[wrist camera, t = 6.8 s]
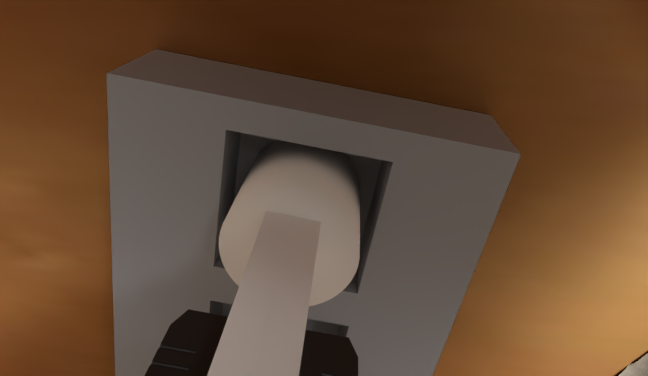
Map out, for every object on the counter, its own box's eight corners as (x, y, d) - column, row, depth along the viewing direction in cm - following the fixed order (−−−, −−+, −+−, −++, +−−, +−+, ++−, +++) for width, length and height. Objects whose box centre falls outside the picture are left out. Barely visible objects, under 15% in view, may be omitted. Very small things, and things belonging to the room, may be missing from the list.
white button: (255, 125, 16) (224, 175, 13) (371, 148, 16) (374, 204, 13) (242, 225, 18) (213, 294, 14) (347, 245, 18) (344, 318, 14)
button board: (155, 48, 17) (106, 73, 13) (490, 115, 17) (520, 154, 14) (148, 423, 26) (118, 490, 23) (367, 462, 26) (368, 535, 23)
